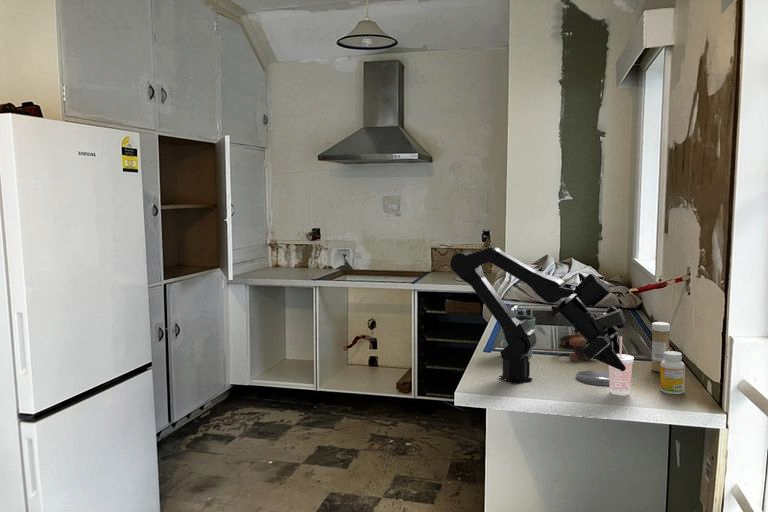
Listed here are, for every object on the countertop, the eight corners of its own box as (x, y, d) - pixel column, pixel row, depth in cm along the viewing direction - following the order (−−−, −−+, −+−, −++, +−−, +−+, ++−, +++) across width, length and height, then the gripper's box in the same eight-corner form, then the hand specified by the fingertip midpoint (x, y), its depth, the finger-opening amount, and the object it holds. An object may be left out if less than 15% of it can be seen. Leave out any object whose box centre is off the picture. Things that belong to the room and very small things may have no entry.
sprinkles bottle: (672, 371, 166) (673, 323, 164) (662, 374, 163) (663, 325, 162) (657, 367, 169) (658, 320, 168) (647, 370, 167) (648, 322, 166)
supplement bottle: (663, 386, 152) (664, 349, 152) (686, 390, 149) (687, 352, 148) (657, 392, 148) (658, 353, 147) (681, 396, 145) (682, 356, 144)
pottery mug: (560, 362, 178) (554, 336, 182) (565, 369, 186) (559, 343, 190) (602, 355, 174) (595, 328, 178) (605, 362, 182) (598, 336, 186)
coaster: (599, 388, 152) (599, 386, 152) (566, 376, 163) (566, 374, 163) (634, 381, 157) (634, 379, 157) (600, 370, 168) (600, 368, 168)
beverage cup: (602, 392, 148) (603, 337, 147) (612, 386, 153) (613, 332, 151) (627, 397, 144) (628, 340, 143) (637, 391, 148) (638, 336, 147)
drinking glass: (499, 358, 182) (499, 319, 181) (503, 350, 192) (503, 313, 191) (534, 360, 179) (534, 321, 178) (536, 352, 189) (536, 314, 188)
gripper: (598, 303, 140) (648, 355, 136) (610, 292, 156) (655, 338, 152) (563, 333, 144) (611, 384, 140) (578, 319, 161) (621, 364, 156)
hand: (626, 366), depth 147 cm, fingers closed on beverage cup, 6 cm apart
